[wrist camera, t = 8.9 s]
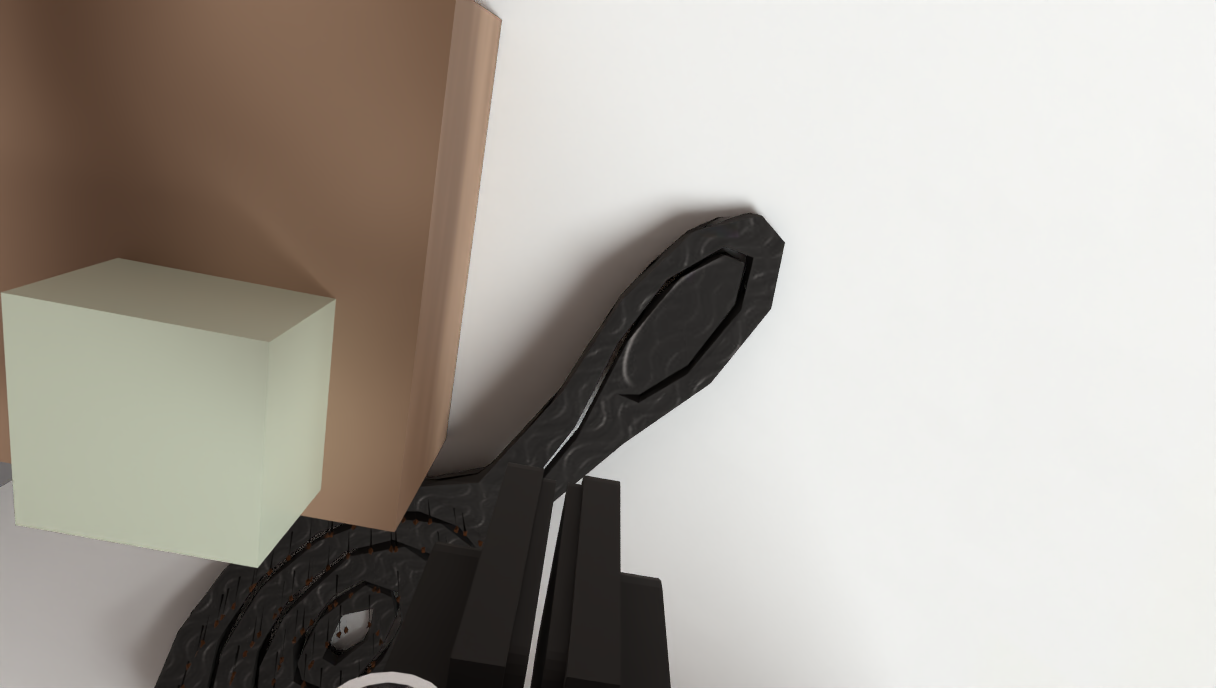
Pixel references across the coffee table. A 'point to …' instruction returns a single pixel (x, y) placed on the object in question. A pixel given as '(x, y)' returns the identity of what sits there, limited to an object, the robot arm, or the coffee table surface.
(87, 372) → the pale green cube
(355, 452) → the brown square platform
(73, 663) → the coffee table surface
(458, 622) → the robot arm
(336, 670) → the hairbrush
